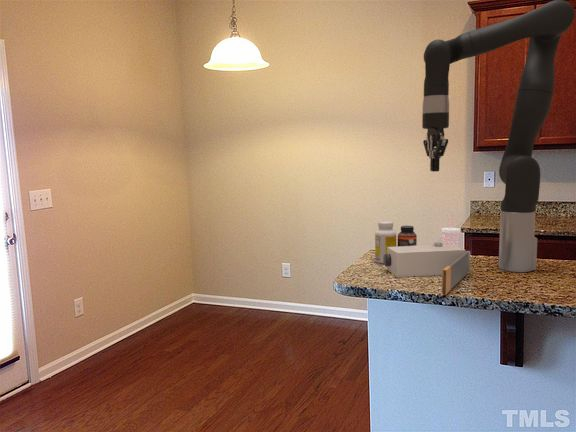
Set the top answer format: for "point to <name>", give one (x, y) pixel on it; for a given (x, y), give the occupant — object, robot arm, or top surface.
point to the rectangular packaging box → (421, 259)
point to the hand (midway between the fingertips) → (434, 171)
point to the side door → (455, 272)
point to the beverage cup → (450, 234)
